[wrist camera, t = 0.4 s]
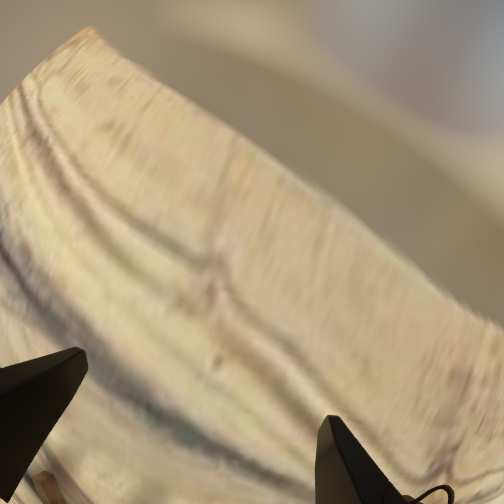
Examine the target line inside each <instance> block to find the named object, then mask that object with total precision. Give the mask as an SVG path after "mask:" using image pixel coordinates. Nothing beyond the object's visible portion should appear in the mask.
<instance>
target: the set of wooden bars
mask: <svg viewBox="0 0 504 504" xmlns="http://www.w3.org/2000/svg"><path fill="white" fill-rule="evenodd" d="M32 482H33V484H34V486H35V488H36V490H37V493H38V495H39V497H40V499H41V501H42V503H43V504H66V503H65V501H64V499H63V497H62V495H61V493H60V490H59V488H58V486H57V483H56V481H55V479H54V476H53V474H51V473H48V472H46V471H43V472H41V473H40V474H38V475H36V476H35V477H33V478H32Z"/></svg>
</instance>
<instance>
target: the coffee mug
mask: <svg viewBox="0 0 504 504" xmlns="http://www.w3.org/2000/svg"><path fill="white" fill-rule="evenodd" d="M439 489H443V490H445V491H446V492H447V494H448V504H453V502H454V491H453V489H452V488H451V487H450V486H449V485H440V486H437V487H434V488H432V489H430V490H428V491H427V492H425V493H424V494H422V495H421V496H420V497H418V498H417V499H414V498H412V497H411V496H408V495H402V496H403V497H404V498H405V499H406V500H407V501H408V502H409V503H410V504H423V503H421V502H419V501H421V500H422V499H424V498H425V497H426V496H428V495H429V494H431V493H432V492H434V491H436V490H439Z"/></svg>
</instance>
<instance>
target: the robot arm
mask: <svg viewBox="0 0 504 504" xmlns="http://www.w3.org/2000/svg"><path fill="white" fill-rule="evenodd" d="M87 371H88V361H87V356H86V352H85V350H83V349H81V348H79V347H72V348H69V349H66V350H63V351H59V352H56V353H53V354H49V355H46V356H42V357H39V358H36V359H32V360H29V361H25V362H22V363H18V364H14V365H11V366H7V367H4V368H0V498H2V499H3V500H4V501H5V502H6V503H8V502H9V501H10V499H11V497H12V495H13V493H14V491H15V490H16V488H17V486H18V484H19V483H20V481H21V479H22V477H23V476H24V474H25V472H26V471H27V470H26V469H28V467H29V465H30V464H31V462H32V460H33V459H34V457H35V455H36V454H37V452H38V451H39V449H40V447H41V446H42V444H43V443H44V441H45V440H46V438H47V436H48V435H49V433H50V432H51V430H52V429H53V427H54V426H55V424H56V423H57V421H58V420H59V418H60V417H61V415H62V414H63V412H64V411H65V409H66V408H67V406H68V405H69V403H70V402H71V400H72V399H73V397H74V395H75V393H76V392H77V390H78V388H79V386H80V384H81V382H82V380H83V379H84V377H85V375H86V373H87ZM315 498H316V504H410V503H409V502H408V501H407V500H406V499H405V498H404V497H403V496H402V495H401V494H400V493H399V491H398V490H397V489H396V488H395V487H394V486H393V484H392V483H391V482H390V481H389V480H388V478H387V477H386V476H385V475H384V473H383V472H382V471H381V470H380V468H379V467H378V466H377V464H376V463H375V462H374V461H373V459H372V458H371V457H370V456H369V454H368V453H367V452H366V451H365V449H364V448H363V447H362V445H361V444H360V443H359V442H358V440H357V439H356V438H355V436H354V435H353V434H352V432H351V431H350V430H349V429H348V427H347V426H346V425H345V423H344V422H343V421H342V419H341V418H340V417H339V416H336V415H327V416H326V418H325V419H324V421H323V423H322V425H321V426H320V428H319V431H318V438H317V450H316V461H315Z"/></svg>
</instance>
